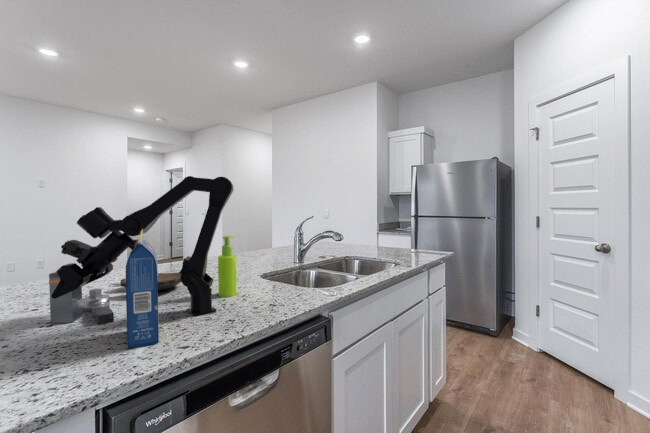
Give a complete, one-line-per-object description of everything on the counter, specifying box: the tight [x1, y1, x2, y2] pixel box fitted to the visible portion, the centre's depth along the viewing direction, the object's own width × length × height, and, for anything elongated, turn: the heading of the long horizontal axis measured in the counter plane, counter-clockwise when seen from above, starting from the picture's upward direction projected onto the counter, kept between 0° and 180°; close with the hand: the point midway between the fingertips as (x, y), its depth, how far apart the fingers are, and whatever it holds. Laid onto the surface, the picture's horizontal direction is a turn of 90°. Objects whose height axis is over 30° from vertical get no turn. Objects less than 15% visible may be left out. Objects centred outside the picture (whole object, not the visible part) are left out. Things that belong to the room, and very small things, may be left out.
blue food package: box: [125, 228, 160, 349], centre depth 77 cm, size 6×12×25 cm, turn 27°
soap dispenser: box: [217, 235, 238, 298], centre depth 113 cm, size 6×7×20 cm
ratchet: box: [82, 288, 115, 326], centre depth 94 cm, size 21×7×6 cm, turn 42°
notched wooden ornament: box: [119, 272, 182, 292], centre depth 122 cm, size 22×30×8 cm
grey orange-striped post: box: [48, 271, 83, 325], centre depth 88 cm, size 5×5×13 cm
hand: (63, 292), depth 88 cm, fingers open, 9 cm apart
